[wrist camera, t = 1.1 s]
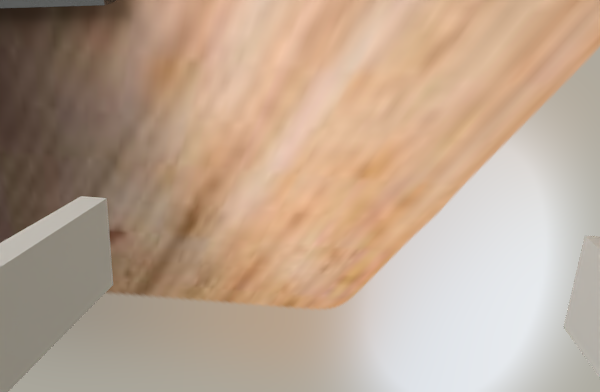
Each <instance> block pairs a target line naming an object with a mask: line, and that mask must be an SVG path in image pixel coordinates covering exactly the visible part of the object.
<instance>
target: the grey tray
mask: <svg viewBox="0 0 600 392" xmlns="http://www.w3.org/2000/svg"><path fill="white" fill-rule="evenodd" d="M115 1H116V0H0V8H26V7H59V6H92V5H106V4H109V3H112V2H115Z"/></svg>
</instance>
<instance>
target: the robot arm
mask: <svg viewBox="0 0 600 392" xmlns="http://www.w3.org/2000/svg"><path fill="white" fill-rule="evenodd" d="M112 285H113V275H112V262H111V249H110V236H109V223H108V209H107V198H97V197H84V196H81V197H79V198H77V199H76V200H74V201H72V202H70V203H69V204H67V205H65V206H63V207H62V208H60V209H58V210H57V211H55V212H53V213H51V214H50V215H48V216H46V217H45V218H43V219H41V220H39V221H38V222H36V223H34V224H32V225H31V226H29V227H27V228H26V229H24V230H22V231H20V232H19V233H17V234H15V235H14V236H12V237H10V238H8V239H7V240H5V241H3V242H1V243H0V392H8V391H9V390H10V389H11V388H12V387H13V386H14V385H15V384H16V383H17V382H18V381H19V380H20V379H21V378H22V377H23V376H24V375H25V374H26V373H27V372H28V371H29V370H30V369H31V368H32V367H33V366H34V365H35V364H36V363H37V362H38V361H39V360H40V359H41V358H42V357H43V356H44V355H45V354H46V353H47V352H48V351H49V350H50V349H51V347H53V346H54V344H55V343H56V342H57V341H58V340H59V339H60V338H61V337H62V336H63V335H64V334H65V333H66V332H67V331H68V330H69V329H70V328H71V327H72V326H73V325H74V324H75V323H76V322H77V321H78V320H79V319H80V318H81V317H82V316H83V315H84V314H85V313H86V312H87V311H88V310H89V309H90V308H91V307H92V306H93V305H94V304H95V302H96V301H98V300H99V299H100V297H102V296H103V295H104V294H105V293H106V292H107V291H108V290H109V288H110V287H111V286H112ZM564 328H565V330H566V331H567V333H568V334H569V335H570V337H571V338H572V340H573V341H574V342H575V344H576V345H577V346H578V348H579V350H580V351H581V352H582V354H583V355H584V357H585V358H586V359H587V361H588V362H589V364H590V365H591V366H592V368H593V369H594V371H595V372H596V373H597V375H598V376H599V378H600V237H594V236H585V237H584V242H583V246H582V250H581V255H580V259H579V263H578V268H577V272H576V276H575V280H574V285H573V289H572V293H571V298H570V302H569V306H568V311H567V315H566V319H565V324H564Z"/></svg>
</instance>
